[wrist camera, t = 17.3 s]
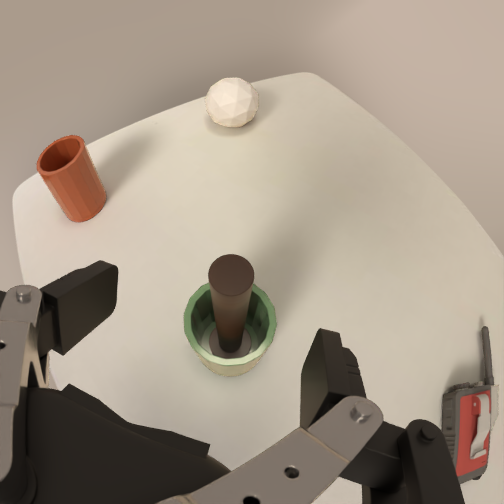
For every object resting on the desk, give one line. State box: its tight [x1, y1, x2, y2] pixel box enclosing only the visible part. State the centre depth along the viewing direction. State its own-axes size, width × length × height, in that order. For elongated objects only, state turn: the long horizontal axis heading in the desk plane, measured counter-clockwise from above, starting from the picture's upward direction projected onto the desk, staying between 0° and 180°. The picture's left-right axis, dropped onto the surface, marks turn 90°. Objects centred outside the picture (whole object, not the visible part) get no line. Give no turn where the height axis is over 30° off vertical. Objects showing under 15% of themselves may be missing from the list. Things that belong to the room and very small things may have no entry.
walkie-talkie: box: [442, 326, 499, 484], centre depth 23 cm, size 9×4×20 cm
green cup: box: [184, 283, 277, 377], centre depth 24 cm, size 6×6×9 cm
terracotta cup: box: [37, 135, 106, 222], centre depth 30 cm, size 6×6×9 cm
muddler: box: [208, 254, 254, 359], centre depth 20 cm, size 4×4×16 cm
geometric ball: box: [205, 77, 259, 127], centre depth 40 cm, size 8×8×8 cm
